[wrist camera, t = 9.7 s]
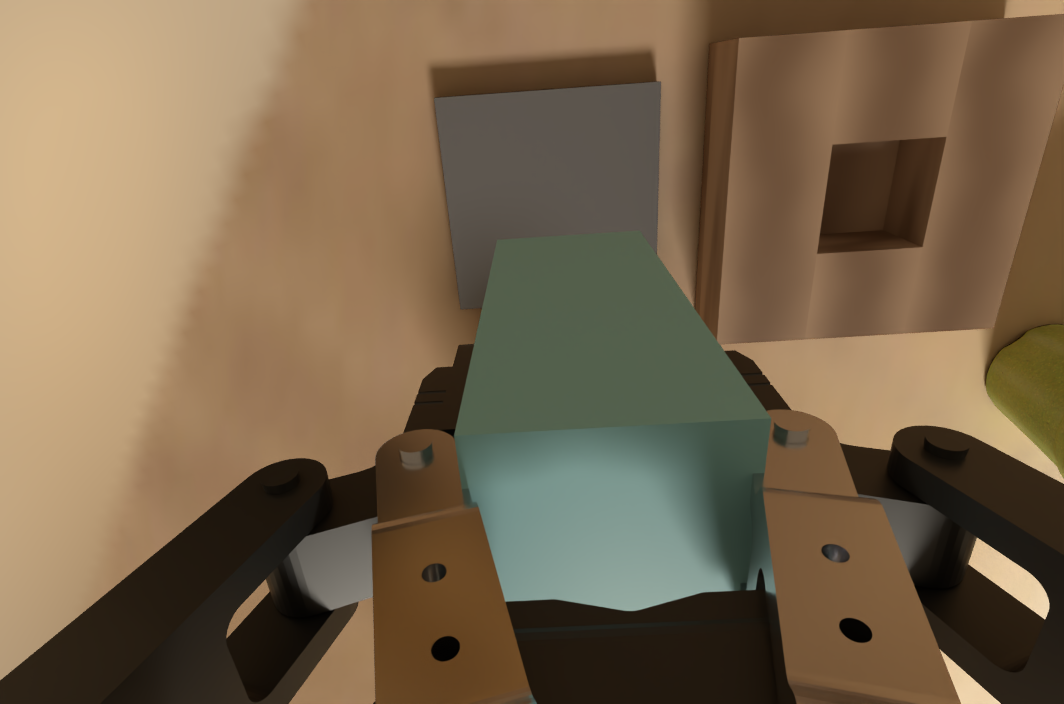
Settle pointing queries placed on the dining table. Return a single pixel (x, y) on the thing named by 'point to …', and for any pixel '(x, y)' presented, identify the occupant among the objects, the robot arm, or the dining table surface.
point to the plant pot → (1033, 388)
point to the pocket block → (871, 176)
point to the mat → (546, 169)
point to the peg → (606, 429)
